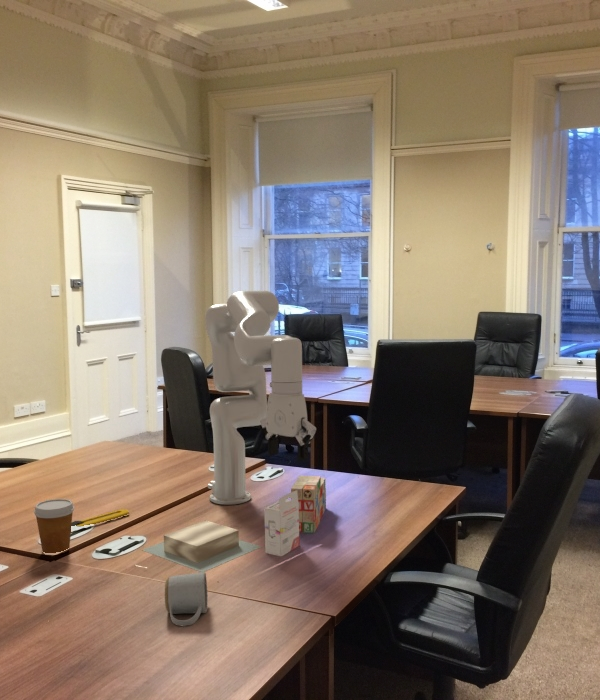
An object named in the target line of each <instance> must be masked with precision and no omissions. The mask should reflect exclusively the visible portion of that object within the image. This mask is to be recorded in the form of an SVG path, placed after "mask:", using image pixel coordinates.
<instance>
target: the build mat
mask: <svg viewBox="0 0 600 700" xmlns="http://www.w3.org/2000/svg"><path fill="white" fill-rule="evenodd" d="M260 548H262V546H261V545H257V544H254V543H251V542H249V541H244V540H241V539H239V546H237V547H234V548H232V549H230V550H227V551H225V552H222V553H220V554H218V555H215V556H213V557H210V558H208V559H206V560H203V561H201V562H198V563H196V562H193V561H191V560H188V559H185V558H182V557H179V556H177V555H174V554H171V553H168V552H165V551H164V541H162V542H159V543H156V544H154V545H151V546H148V547H146V548H143V549H141V551H144V552H146V553H148V554H151V555H154V556H155V557H156V556H157V557H159V558H162V559H164V560H167V561H170V562H173V563H175V564H178V565H181V566H184V567H187V568H189V569H191V570H194V571H198V572H199V573H201V572H205V573H206V572H207V571H210V570H212V569H213V568H217V567H218V566H222V565H223V564H226V563H228V562H229V561H232V560H235V559H237V558H239V557H242V556H243V555H246V554H249V553H250V552H254V551H255V550H258V549H260Z"/></svg>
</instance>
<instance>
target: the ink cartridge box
mask: <svg viewBox="0 0 600 700" xmlns="http://www.w3.org/2000/svg"><path fill="white" fill-rule="evenodd" d="M291 498H292V500H291ZM263 510H264V511H263V512H264V542H265V545H264V546H265V548H264V549H265V554H269V555H272V556H273V555H274V556H278V557H283V556H285V555H286V554H288V553H289V552H291V551H293V550H294V549H296V548H297V547H299V546H300V533H299V502H298V494H297V490H296V491H294V492H291V491H290V492H289V493H287V494H285V495H283V496H281V497H279V498H278V501H276V502H274V503H272V504H270V505H268V506H266V507H263Z"/></svg>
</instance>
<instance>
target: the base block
mask: <svg viewBox="0 0 600 700" xmlns="http://www.w3.org/2000/svg"><path fill="white" fill-rule="evenodd" d="M239 533H240V530H239V529H236V528H232V527H229V526H227V525H222V524H220V523H216V522H213V521H209V520H207V519H206V520H202V521H200V522H196V523H195V524H191V525H188V526H185V527H182V528H180V529H177V530H174V531H172V532H168V533H166V534H163V542H164V551H165V552H168V553H171V554H174V555H177V556H179V557H182V558H185V559H188V560H191V561H193V562H196V563H198V562H201V561H203V560H206V559H208V558H210V557H213V556H215V555H218V554H220V553H222V552H225V551H227V550H230V549H232V548H234V547H237V546H239V540H240V537H239V536H240V534H239Z"/></svg>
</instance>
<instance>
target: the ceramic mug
mask: <svg viewBox="0 0 600 700" xmlns="http://www.w3.org/2000/svg"><path fill="white" fill-rule="evenodd" d="M207 581H208V580H207V574H206V571H205V572H195V573H187V574H178V575H173V576H170V577H168V578H167V579H166V580H165V583H164V605H165V610H166V612H167V613H169V615H170V621H172V623H173V624H175V625H176V624H177V625H176V626H178V625H184V626H183V627H187V626H186V625H189V626H191V625H193V624H195V623H196V622H197V621H199V620H198V619H199V618H200V615H201V614H205V613H207V611H208V584H207V583H208V582H207ZM174 614H176V615H177V614H181V615H182V614H194V615H193V616H192V617H190V618H188V619H186V620H184V619H183V620H181V619H178V618H175V616H174Z"/></svg>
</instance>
